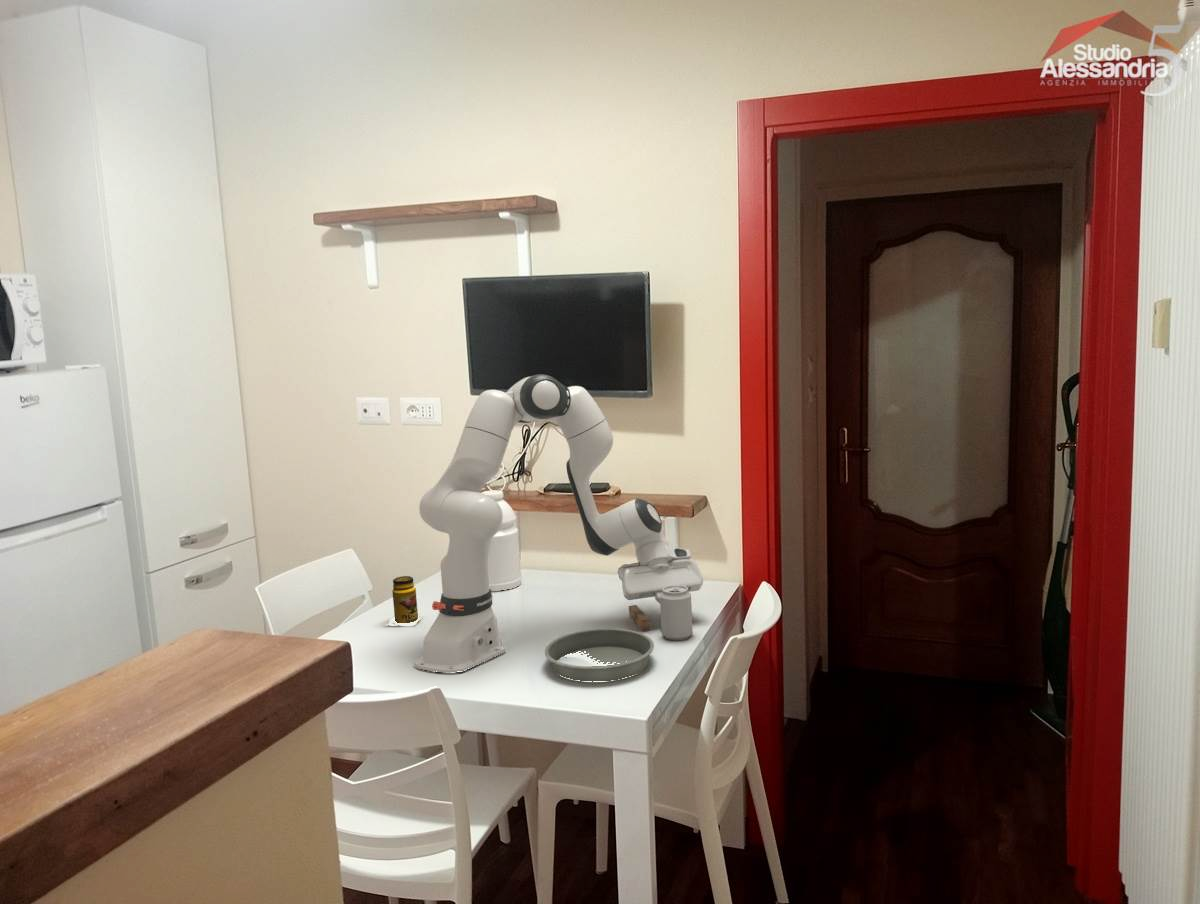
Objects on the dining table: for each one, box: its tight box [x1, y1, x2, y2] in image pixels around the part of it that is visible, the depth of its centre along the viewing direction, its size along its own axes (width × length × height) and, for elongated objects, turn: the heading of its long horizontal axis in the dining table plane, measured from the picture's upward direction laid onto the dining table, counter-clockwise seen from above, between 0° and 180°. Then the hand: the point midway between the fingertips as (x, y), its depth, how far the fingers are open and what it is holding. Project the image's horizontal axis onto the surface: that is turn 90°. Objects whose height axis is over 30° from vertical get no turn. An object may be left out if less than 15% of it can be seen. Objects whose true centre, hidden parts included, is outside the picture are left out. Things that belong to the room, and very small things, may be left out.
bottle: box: [480, 489, 522, 592], centre depth 276 cm, size 14×14×28 cm
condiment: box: [391, 575, 419, 623], centre depth 249 cm, size 7×8×12 cm
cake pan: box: [544, 627, 655, 682], centre depth 212 cm, size 25×25×4 cm
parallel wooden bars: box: [628, 604, 694, 633], centre depth 239 cm, size 12×13×3 cm
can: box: [659, 585, 694, 641], centre depth 227 cm, size 8×8×12 cm
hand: (669, 609), depth 231 cm, fingers closed, pressing on can
